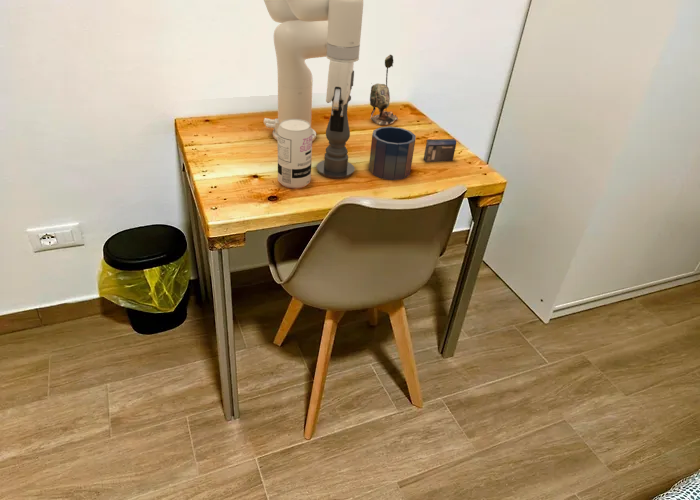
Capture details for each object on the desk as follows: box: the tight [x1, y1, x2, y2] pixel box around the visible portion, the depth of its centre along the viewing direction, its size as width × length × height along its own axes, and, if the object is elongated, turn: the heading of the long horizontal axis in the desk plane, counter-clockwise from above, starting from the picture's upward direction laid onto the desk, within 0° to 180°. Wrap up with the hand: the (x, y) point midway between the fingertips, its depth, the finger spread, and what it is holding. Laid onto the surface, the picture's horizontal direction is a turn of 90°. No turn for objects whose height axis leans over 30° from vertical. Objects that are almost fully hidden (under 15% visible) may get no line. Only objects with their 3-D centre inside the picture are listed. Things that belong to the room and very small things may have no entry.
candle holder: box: [323, 70, 355, 173], centre depth 130 cm, size 6×6×25 cm
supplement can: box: [277, 119, 313, 189], centre depth 127 cm, size 8×8×15 cm
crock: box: [368, 126, 417, 181], centre depth 137 cm, size 11×11×10 cm
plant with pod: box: [369, 54, 399, 126], centre depth 162 cm, size 8×11×20 cm
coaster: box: [315, 160, 356, 180], centre depth 138 cm, size 10×10×1 cm
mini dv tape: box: [423, 138, 457, 163], centre depth 146 cm, size 8×2×6 cm, turn 103°
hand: (338, 125), depth 131 cm, fingers closed on candle holder, 4 cm apart
